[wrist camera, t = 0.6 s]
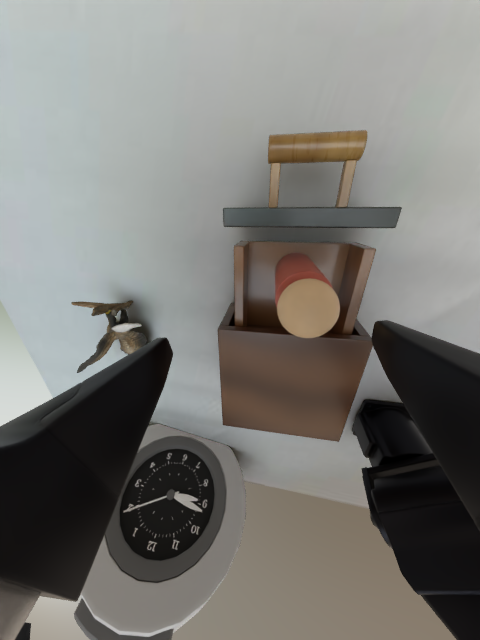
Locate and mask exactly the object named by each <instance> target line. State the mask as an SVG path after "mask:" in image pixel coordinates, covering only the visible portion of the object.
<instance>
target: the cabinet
mask: <svg viewBox="0 0 480 640" xmlns="http://www.w3.org/2000/svg"><path fill="white" fill-rule="evenodd" d="M218 343H219V361H220V380H221V398H222V417H223V425H226V426H233V427H240V428H247V429H254V430H261V431H268V432H275V433H282V434H289V435H296V436H303V437H310V438H317V439H324V440H331V441H338V442H339V440H340V437H341V434H342V431H343V428H344V426H345V423H346V420H347V417H348V414H349V411H350V409H351V406H352V403H353V400H354V397H355V394H356V392H357V389H358V386H359V383H360V380H361V378H362V375H363V372H364V369H365V366H366V363H367V361H368V358H369V355H370V352H371V349H372V346H373V344H372V338H371V337H370V335H369V334H368V333H367V331H366V330H365V329H364V328H363V326H362V325H361V324H360V323H359V321H358V320H357V319H356V321H355V324H354V328H353V331H352V335H344V334H330V333H325V334H323V335H321V336H318V337H315V338H301V337H298V336H295V335H293V334H291V333H290V332H288V331H287V330H277V329H264V328H251V327H238V326H235V304H234V303H231V305H230V306H229V308H228V310H227V312H226V314H225V316H224V318H223V320H222V322H221V324H220V326H219V328H218Z"/></svg>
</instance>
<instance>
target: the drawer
mask: <svg viewBox="0 0 480 640" xmlns="http://www.w3.org/2000/svg"><path fill="white" fill-rule="evenodd" d="M366 141H367V131H366V130H359V131H340V132H321V133H301V134H282V135H270V136H269V148H268V164H271V175H270V192H269V208H223V222H224V227H316V228H395V227H396V225H397V222H398V218H399V215H400V212H401V209H402V208H401V207H347V205H348V200H349V195H350V190H351V185H352V181H353V176H354V171H355V166H356V162H357V161H359V160H360V158H361V156H362V154H363V152H364V149H365V146H366ZM316 162H344V164H343V169H342V175H341V180H340V185H339V191H338V196H337V202H336V207H296V208H277V207H278V193H279V180H280V166H281V164H286V163H316ZM375 252H376V249H375V248H372V247H369V246H365V245H362V244H359V243H341V242H285V241H240V242H239V243H238V244H236V245H235V246H234V304H235V326H238V327H251V328H264V329H277V330H286V329H285V328H284V327H283V326H282V324H281V322H280V320H279V318H278V313H277V307H276V303H275V270H276V266H277V264H278V262H279V261H280V260H281V259H282V258H283V257H284V256H286V255H287V254H290V253H302V254H305V255H306V256H308V257H309V258H310V259H311V260H312V262H313V263H314V264H315V265H316V266H317V267H318V269H319V270H320V271H321V272H322V273H323V275H324V276H325V277H326V278H327V279H328V280H329V282H330V283H331V285H332V288H333V290H334V291H335V293H336V294H337V296H338V299H339V303H340V313H339V317H338V319H337V322H336V323H335V325H334V326H333V327H332V328H331V329H330V330H329V331H328V332H327V333H330V334H344V335H352V331H353V328H354V324H355V321H356V317H357V314H358V311H359V307H360V304H361V300H362V297H363V293H364V290H365V286H366V283H367V279H368V276H369V272H370V269H371V265H372V262H373V259H374V255H375Z"/></svg>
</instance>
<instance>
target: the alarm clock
mask: <svg viewBox="0 0 480 640" xmlns="http://www.w3.org/2000/svg"><path fill="white" fill-rule="evenodd" d="M245 517H246V490H245V485H244V480H243V475H242V470H241V468H240V466H239V464H238V461H237V459H236V457H235V455H234V453H233V451H232V450H231V449H230V447H229V446H227V445H224V444H221V443H218V442H214V441H211V440H208V439H205V438H202V437H199V436H196V435H192V434H189V433H186V432H183V431H180V430H177V429H174V428H170V427H167V426H164V425H161V424H154V425H151V426H148V427H147V430H146V432H145V435H144V437H143V440H142V442H141V445H140V447H139V450H138V452H137V455H136V457H135V460H134V462H133V465H132V467H131V470H130V472H129V475H128V477H127V480H126V482H125V485H124V487H123V490H122V492H121V495H120V497H119V500H118V502H117V505H116V507H115V510H114V512H113V515H112V517H111V520H110V522H109V525H108V527H107V530H106V532H105V535H104V537H103V540H102V542H101V545H100V547H99V550H98V552H97V555H96V557H95V560H94V562H93V565H92V567H91V570H90V572H89V575H88V577H87V580H86V582H85V585H84V587H83V590H82V592H81V594H80V595H81V597H82V599H81V601H80V603H79V605H78V607H77V609H76V611H75V613H74V617H75V620H76V622H77V624H78V625H79V627H80V628H81V629H82V630H83V632H84V633H85V635H86V636H87V637H88V638H89V639H90V640H171V638H172V634H173V633H174V632H175V631H176V630H177V629H178V628H180V627H181V626H182V625H183V624H185V623H186V622H187V621H188V620H190V619H191V618H192V617H193V616H194V615H195V614H197V613H198V612H199V611H200V609H201V608H202V607H203V606H204V605H205V604H206V603H207V601H208V600H209V599H210V597H211V596H212V594H213V593H214V592H215V590H216V589H217V588H218V586H219V585H220V584H221V582H222V581H223V579H224V578H225V577H226V575H227V574H228V572H229V569H230V567H231V565H232V562H233V560H234V558H235V555H236V553H237V550H238V548H239V546H240V542H241V537H242V533H243V528H244V523H245Z"/></svg>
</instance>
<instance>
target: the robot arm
mask: <svg viewBox="0 0 480 640" xmlns="http://www.w3.org/2000/svg"><path fill="white" fill-rule="evenodd" d="M372 344H373V347H374V349H375V351H376V353H377V355H378V358H379V360H380V362H381V364H382V367H383V369H384V371H385V373H386V375H387V377H388V379H389V381H390V382H391V384H392V386H393V387H394V389H395V391H396V392H397V394H398V396H399V397H400V399H401V401H402V402H403V404H399V403H390V402H381V401H372V400H365V401H364V402H363V404H362V406H361V409H360V411H359V413H358V414H357V417H356V420H355V422H354V425H353V430H352V432H353V434H354V435H356V436H357V439H358V441H359V444H360V447H361V449H362V452H363V455H364V456H365V457H366V458H369V460H370V463H371V465H372V467H370V468H367V467H366V468H362V473H363V481H364V486H365V490H366V495H367V499H368V504H369V509H370V515H371V521H372V523H373V525H374V526H376V527H377V528H378V529H379V531H380V532H381V534H382V536H383V538H384V540H385V541H386V543H387V544H388V546H389V547H391V548H392V549H393V551H394V554H395V556H396V559H397V562H398V565H399V568H400V571H401V573H402V575H403V576H404V577H405V579H406V580H407V582H408V583H409V584H410V586H411V587H412V588H413V590H414V591H415V592H416V593H417V594H418V595H421V596H422V597H423V599H424V600H425V601H426V602H427V603H428V605H429V606H430V607H431V608H432V610H433V611H434V612H435V613H436V615H437V616H438V617H439V618H440V619H441V621H442V622H443V623H444V624H445V626H446V627H447V628H448V629H449V631H450V632H451V633H452V634H453V636H454V637H455V638H456V639H457V640H480V354H479V353H476V352H473V351H470V350H468V349H465V348H462V347H459V346H457V345H454V344H451V343H449V342H446V341H443V340H440V339H438V338H435V337H432V336H429V335H427V334H424V333H421V332H418V331H416V330H413V329H410V328H407V327H405V326H402V325H399V324H396V323H394V322H391V321H388V320H385V321H377V322H375V324H374V329H373V334H372ZM172 357H173V351H172V349H171V346H170V344H169V341H168V339H167V338H157V339H155V340H153V341H152V342H150V343H148V344H146V345H145V346H143V347H141V348H140V349H138V350H136V351H134V352H133V353H131V354H129V355H128V356H126V357H124V358H122V359H121V360H119V361H117V362H116V363H114V364H112V365H110V366H109V367H107V368H105V369H103V370H102V371H100V372H98V373H97V374H95V375H93V376H91V377H90V378H88V379H86V380H85V381H83V382H82V383H79V384H78V385H76V386H74V387H72V388H71V389H69V390H67V391H65V392H64V393H62V394H60V395H58V396H57V397H55V398H53V399H51V400H49V401H48V402H46V403H44V404H42V405H40V406H38V407H36V408H35V409H33V410H31V411H29V412H27V413H25V414H23V415H21V416H19V417H17V418H16V419H14V420H12V421H10V422H8V423H6V424H4V425H2V426H1V427H0V640H30V628H31V623H25V621H26V619H27V617H28V616H29V613H30V612H31V610H32V608H33V607H34V605H35V603H36V601H37V600H38V598H39V596H43V597H50V598H56V599H62V600H69V601H75V602H76V601H77V600H78V598H79V596H80V594H81V592H82V590H83V587H84V585H85V582H86V580H87V577H88V575H89V572H90V570H91V567H92V565H93V562H94V560H95V557H96V555H97V552H98V550H99V547H100V545H101V542H102V540H103V537H104V535H105V532H106V530H107V527H108V525H109V522H110V520H111V517H112V515H113V512H114V510H115V507H116V505H117V502H118V500H119V497H120V495H121V492H122V490H123V487H124V485H125V482H126V480H127V477H128V475H129V472H130V470H131V467H132V465H133V462H134V460H135V457H136V455H137V452H138V450H139V447H140V445H141V442H142V440H143V437H144V435H145V432H146V430H147V427H148V425H149V422H150V420H151V417H152V415H153V412H154V410H155V407H156V405H157V402H158V400H159V397H160V395H161V393H162V390H163V387H164V385H165V382H166V378H167V375H168V371H169V368H170V364H171V361H172Z"/></svg>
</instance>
